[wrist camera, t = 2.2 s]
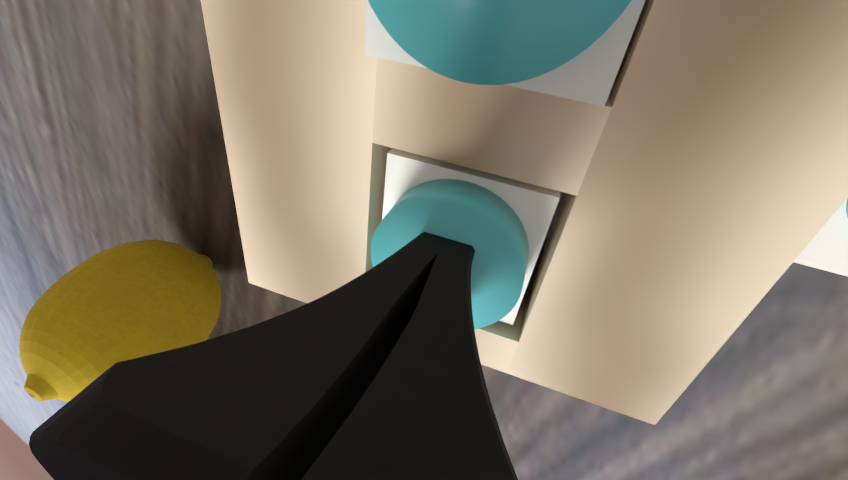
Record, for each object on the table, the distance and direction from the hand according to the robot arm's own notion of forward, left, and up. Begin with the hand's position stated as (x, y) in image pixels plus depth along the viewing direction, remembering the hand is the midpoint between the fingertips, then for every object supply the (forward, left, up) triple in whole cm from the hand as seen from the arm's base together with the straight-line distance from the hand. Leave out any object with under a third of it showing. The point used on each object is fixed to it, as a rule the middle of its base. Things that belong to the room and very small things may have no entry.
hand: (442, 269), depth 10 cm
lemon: (+12, +7, -4) cm, 14 cm away
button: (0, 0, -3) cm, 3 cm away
